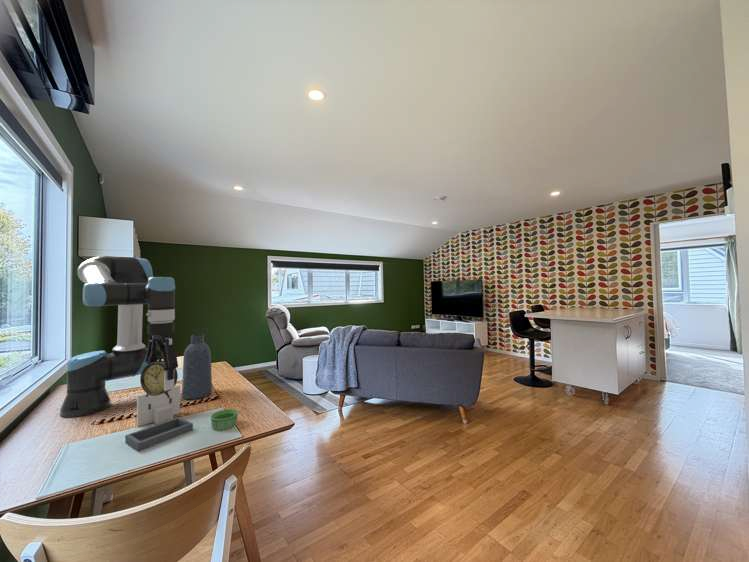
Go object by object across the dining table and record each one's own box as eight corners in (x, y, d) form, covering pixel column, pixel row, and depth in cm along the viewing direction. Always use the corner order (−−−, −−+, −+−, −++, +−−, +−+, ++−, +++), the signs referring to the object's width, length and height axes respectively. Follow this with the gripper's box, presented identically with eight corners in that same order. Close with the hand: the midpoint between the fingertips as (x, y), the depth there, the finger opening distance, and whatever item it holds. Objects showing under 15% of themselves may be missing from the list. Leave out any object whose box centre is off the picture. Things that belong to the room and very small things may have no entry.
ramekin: (228, 418, 114) (228, 407, 114) (243, 423, 110) (243, 411, 110) (205, 428, 106) (205, 415, 107) (220, 434, 102) (220, 421, 102)
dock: (125, 442, 96) (125, 435, 96) (179, 423, 110) (179, 417, 110) (138, 451, 91) (138, 443, 91) (192, 430, 104) (192, 423, 105)
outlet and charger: (136, 425, 108) (137, 395, 109) (178, 412, 120) (178, 384, 121) (150, 433, 102) (150, 401, 103) (193, 418, 114) (193, 389, 114)
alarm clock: (138, 398, 99) (139, 349, 99) (153, 392, 104) (153, 346, 105) (167, 400, 97) (168, 350, 98) (180, 394, 103) (181, 347, 103)
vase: (190, 391, 145) (190, 333, 145) (216, 390, 146) (216, 333, 147) (176, 401, 133) (176, 337, 133) (204, 399, 134) (205, 337, 135)
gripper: (133, 321, 105) (133, 383, 104) (164, 325, 92) (164, 396, 91) (158, 319, 111) (157, 378, 110) (190, 322, 98) (190, 389, 98)
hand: (160, 386), depth 101 cm, fingers closed on alarm clock, 11 cm apart
